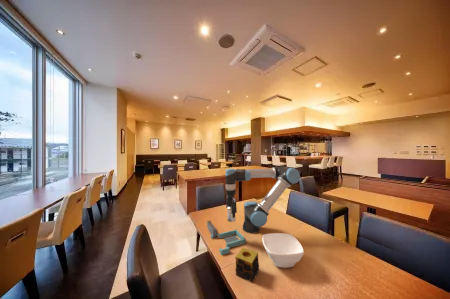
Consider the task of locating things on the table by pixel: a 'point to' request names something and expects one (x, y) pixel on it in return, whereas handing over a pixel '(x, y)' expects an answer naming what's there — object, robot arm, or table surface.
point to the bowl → (283, 249)
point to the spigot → (229, 213)
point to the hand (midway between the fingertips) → (231, 219)
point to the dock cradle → (230, 240)
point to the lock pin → (211, 228)
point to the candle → (247, 264)
